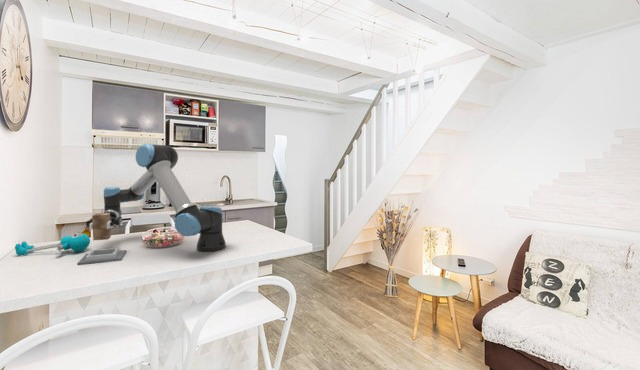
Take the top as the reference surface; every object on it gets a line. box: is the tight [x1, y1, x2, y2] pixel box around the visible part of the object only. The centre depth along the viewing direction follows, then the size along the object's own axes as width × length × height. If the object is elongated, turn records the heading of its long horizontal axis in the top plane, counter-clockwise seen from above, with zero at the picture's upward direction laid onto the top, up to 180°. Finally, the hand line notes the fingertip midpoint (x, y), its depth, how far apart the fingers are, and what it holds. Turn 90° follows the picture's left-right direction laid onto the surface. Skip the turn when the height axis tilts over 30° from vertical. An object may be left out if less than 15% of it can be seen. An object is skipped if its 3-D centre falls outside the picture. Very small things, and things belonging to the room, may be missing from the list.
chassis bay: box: [77, 247, 127, 266], centre depth 149 cm, size 17×15×3 cm
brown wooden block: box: [91, 212, 112, 241], centre depth 148 cm, size 6×6×12 cm
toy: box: [14, 232, 91, 256], centre depth 157 cm, size 22×10×30 cm
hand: (99, 226), depth 143 cm, fingers closed on brown wooden block, 6 cm apart
